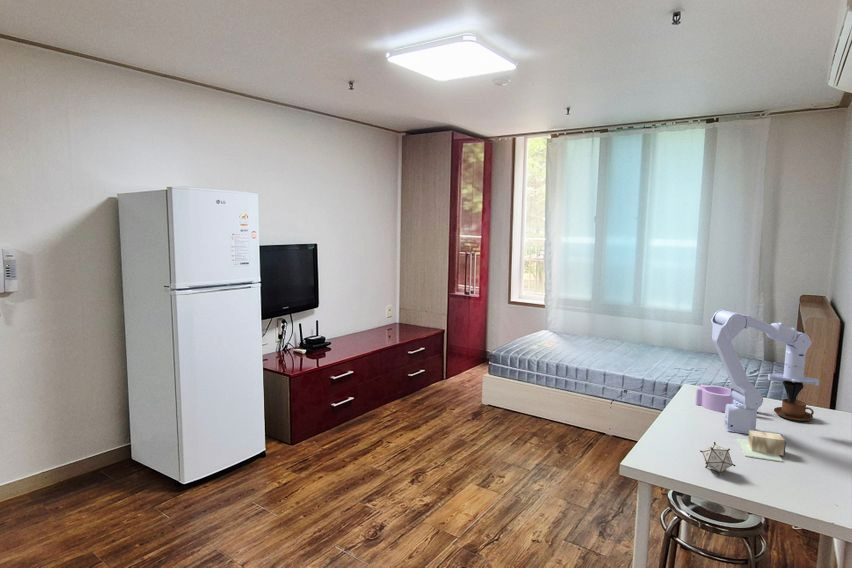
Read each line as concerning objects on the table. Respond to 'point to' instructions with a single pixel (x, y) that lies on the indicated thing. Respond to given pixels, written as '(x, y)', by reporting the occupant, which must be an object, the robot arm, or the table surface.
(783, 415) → the cup and saucer
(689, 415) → the table surface
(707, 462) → the game die
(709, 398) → the clip
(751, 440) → the maple block
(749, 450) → the mat
